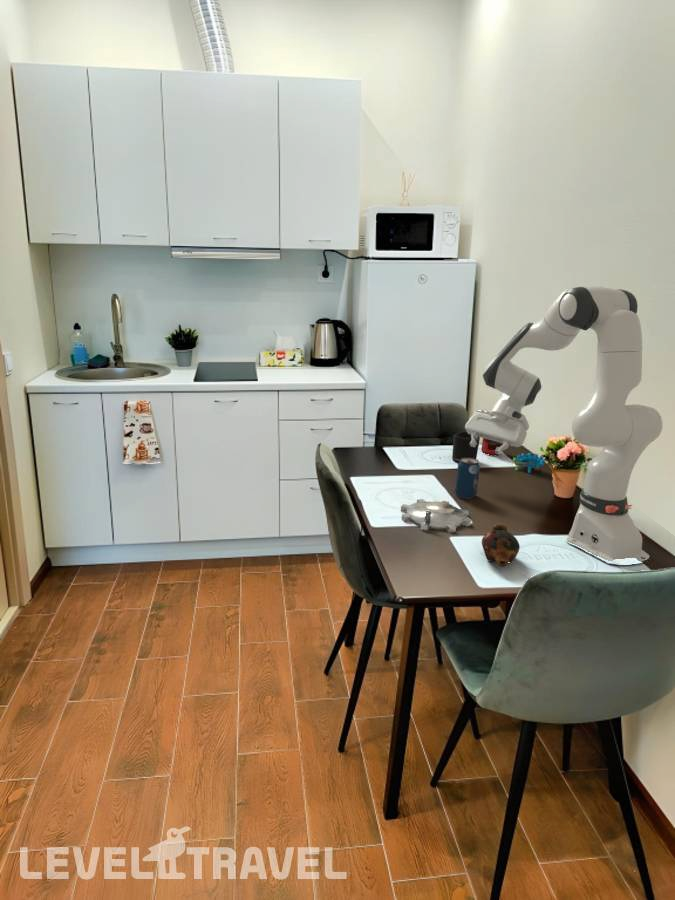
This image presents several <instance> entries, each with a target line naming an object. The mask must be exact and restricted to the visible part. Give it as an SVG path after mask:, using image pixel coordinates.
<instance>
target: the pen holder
mask: <svg viewBox="0 0 675 900" xmlns="http://www.w3.org/2000/svg"><path fill="white" fill-rule="evenodd" d="M480 439H481V437H477V439H476V438H475V441H476V442H477V445H476V446H475V447H471V446H470V442H471V440H472V439H471V434H468V433H467V431H460V432H458V433H456V434H453V443H452V454H451V455H452V456H451V459H452V461H453V462H454V461H455V462H454V463H456V462H457V463H456V464H458V463H459V462H460V460H461V458H464V457H470V458H475V459H478V458H477V456H478V451H479V445H480Z"/></svg>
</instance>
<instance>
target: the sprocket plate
mask: <svg viewBox="0 0 675 900" xmlns="http://www.w3.org/2000/svg"><path fill="white" fill-rule="evenodd" d="M400 511H401V512H405V513H402V514H401V521H403V522H404V523H407V522H412V523H413V524H415V525H417V526H419V527H420V528H419V530H421V531H429V529H431V530H439V531H441V530H442V531H444V530H446V531H447V532H448V533H449V534H451V533H455V532H456V530H457V529H458V528H460V527H462V526H464V525H465V527H468V526H469V527H470V526H471V525H472V519H470V518H467V517H469V510H468V509H466V508H458V507H457V506H454V505H452V504H451V503H450V501H447V500H442V501H436V500H435V501H426V500H425V499H423V498H420V499H418V498H417V499H416V502H415V503H411V504H405V503H403V504H402V505H401V506H400ZM461 525H462V526H461ZM457 527H458V528H457Z"/></svg>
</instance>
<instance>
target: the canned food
mask: <svg viewBox="0 0 675 900" xmlns="http://www.w3.org/2000/svg"><path fill="white" fill-rule="evenodd" d="M502 445H503V443H500V442H496V441H492V440H489V439H485V438H482V443H481V453H482V452H483V454H484V453H485V454H484V455H486V454H489V455H488V456H490V455H499V454H496V453H495V450H496V448H497V447H500V446H502ZM499 456H500V455H499Z"/></svg>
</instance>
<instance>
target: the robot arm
mask: <svg viewBox="0 0 675 900" xmlns="http://www.w3.org/2000/svg"><path fill="white" fill-rule="evenodd" d="M637 313H638V301H637V298H636V297H635V295H634V294H633V293H632V292H630V291H628V290H625V289H621V288H617V289H616V288H609V287H604V286H603V287H602V286H586V287H584V286H577V287H571V288H566V289H564V290H563V291H562V292H561V293H559V295H558V296H557V297H556V298H555V300H554V301H553V302H552V303H551V304H550V306H549V307H548V309H547V311H546V312H545V314H544V315H543V316H542V318H540V319H539V320H538V321H535V322H528V323H526V324H525V325H524V326H523V327H522V328H521V329H519V331H517V332H516V333H515V334H514V336H513V337H512V338H511V339H510V341H509V342H508V343H507V344H506V345H505V346H504V348H502V349H501V351H499V353H498V354H497V355H496V356H495V357H494V358H493V359H491V360H490V361H489V362H488V363H487V365H486V366H485V368H484V370H483V373H482V377H483V381H484V382H485V385H486V386H487V387H489V388H492V389H494V390H497V391H499V392H501V394H500V397H499V398H498V399H497V400H496V402H495V403H494V405H493V407H492V409H491V410H490V411H488V410H487V411H485V410H482V409H479V410H475V411H474V412H473V414H472V415H471V417H469V419H468V421H466V423H465V425H464V429H465V432H467V433H468V434H471V439H472V440H471V442H470V446H471V447H475V446H476V445H477V442H476V441H475V438H476V439H477V437H480V438H482V439H483V438H485V439H489V440H492V441H496V442H500V443H503V445H502V446H500V447H497V448H496V450H495V453H496V454H499V456H500V455H502V453H503V451H505V450H508V448H509V447H510V446H511V447H514V448H519V447H522V445H523V444H524V441H525V440H526V437H527V434H528V433H527V431H528V430H529V428H530V424H529V421H528V419H527V418H526V416H525V415H524V414H523V413H522V410H523V408H524V407H527V406H529V405H531V404H532V405H533V404H534V402H535V400H536V397H537V395H538V394H539V392H540V391H541V390H542V382H541V379H540V378H539V377H538V376H537V375H536V374H533V373H532V372H530V371H527V370H526V369H524V368H522V367H520V366H518V365H516V364H515V363H513V362H512V361H511V360H512V359H513V358H514V357H515V356H516V355H517V353H518V352H519V351H520V350H522V349H525V348H528V349H529V348H530V349H531V348H532V349H539V350H544V351H551V352H552V351H553V352H554V351H559V350H562V349H565V348H567V347H568V346H569V345H571V343H572V342H573V341H574V339H576V337H577V336H578V334H579V332H580V331H581V330H582V331H587V330H589V329H591V330H593V331H594V332H595V333H596V337H597V343H596V344H597V346H596V365H595V366H596V369H595V380H594V385H593V389H592V392H591V394H590V396H589V398H588V400H587V402H586V403H585V405H584V406H583V407H582V408H581V409H580V410H579V411H578V412H577V413H575V415H574V418H573V420H572V424H571V425H572V426H571V430H572V431H571V432H572V433H573V434H572V435H573V437H574V438H575V440H576V441H577V442H578V443H579V444H580V445H583V446H588V447H593V448H603V449H602V450H600V452H599V453H598V454H597V455H596V456H594V457H593V458H592V459H590V461H589V462H588V464H587V468H586V473H585V478H584V485H583V487H582V489H581V491H580V493H579V500H578V501H579V507H578V509H577V511H576V514H575V516H574V520H573V523H572V527H571V529H570V531H569V533H568V536H567V537H566V541H568V542H570V543H572V544H575V545H577V546H579V547H581V548H583V549H585V550H587V551H588V552H591V553H592V554H594V555H596V556H599V557H601V558H603V559H605V560H608V561H613V560H615V559H625V558H636V559H637V560H638V561H644V560H647V559H649V557H651V556H650V555H649V553H647V552H646V551H644V550H643V549H642V548H643V536H642V534H641V532H640V528H638V527H637V526H636V524H635V523H634V521H633V519H632V518H631V516H630V514H629V510H631V509H632V508H633V507H632V506H633V505H632V504H629V503H628V497H627V493H628V488H629V484H630V479H631V476H632V473H633V471H634V470H633V469H634V468H635V466H636V465H637V462H638V460H639V458H640V457H641V455H642V454H643V453H644V451H645V450H646V448H647V447H649V445H651V444H652V443H653V442H655V441H656V439H658V438H659V437H660V435H661V433H662V430H663V419H662V416H661V415H660V414H661V413H660V412H659V411H658V410H657V409H655V408H653V407H650V406H646V405H641V404H627V403H626V402H627V399H628V397H629V395H630V393H631V392H632V391H633V390H634V389H635V388H636V387H638V386H639V385H640V383H641V381H642V373H643V372H642V368H643V367H642V365H643V335H642V334H643V333H642V326H641V321H640V318H639V316H638V314H637ZM641 557H642V558H645V559H642V558H641ZM649 560H650V559H649Z"/></svg>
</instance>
